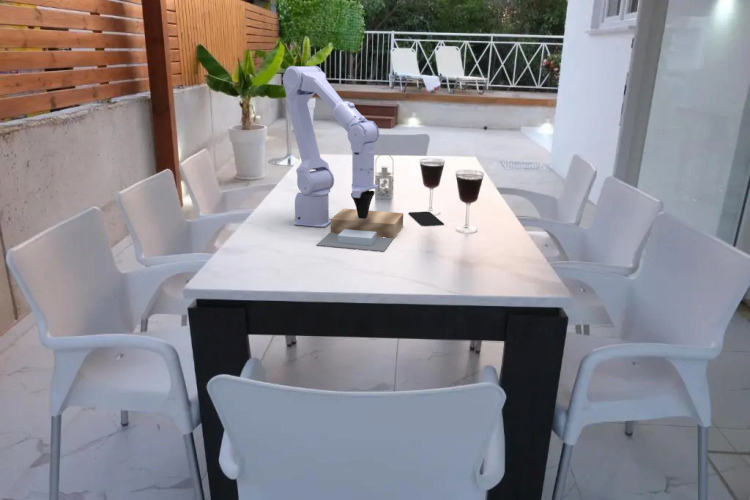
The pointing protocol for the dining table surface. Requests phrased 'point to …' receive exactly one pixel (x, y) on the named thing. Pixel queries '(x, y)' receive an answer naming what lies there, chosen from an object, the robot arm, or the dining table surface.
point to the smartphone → (425, 219)
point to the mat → (378, 245)
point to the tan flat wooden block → (368, 222)
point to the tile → (357, 237)
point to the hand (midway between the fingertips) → (362, 217)
